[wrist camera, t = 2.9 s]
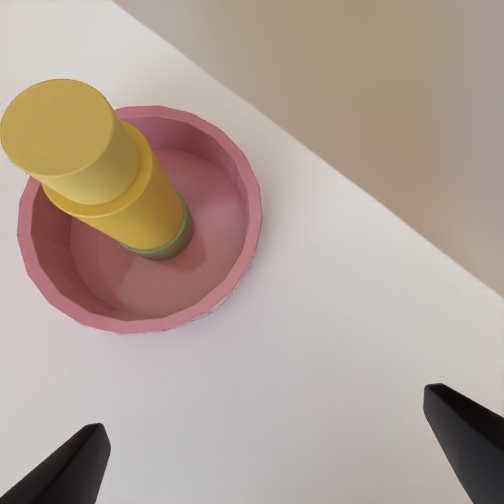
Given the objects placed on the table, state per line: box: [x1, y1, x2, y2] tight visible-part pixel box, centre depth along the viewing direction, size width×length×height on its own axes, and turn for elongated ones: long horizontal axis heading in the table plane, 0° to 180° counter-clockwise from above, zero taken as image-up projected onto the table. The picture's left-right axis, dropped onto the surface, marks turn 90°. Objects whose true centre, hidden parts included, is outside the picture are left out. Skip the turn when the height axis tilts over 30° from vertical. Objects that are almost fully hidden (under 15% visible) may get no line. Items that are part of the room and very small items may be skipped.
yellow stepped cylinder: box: [0, 79, 194, 261], centre depth 15 cm, size 5×5×12 cm
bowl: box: [17, 106, 262, 335], centre depth 19 cm, size 15×15×4 cm
